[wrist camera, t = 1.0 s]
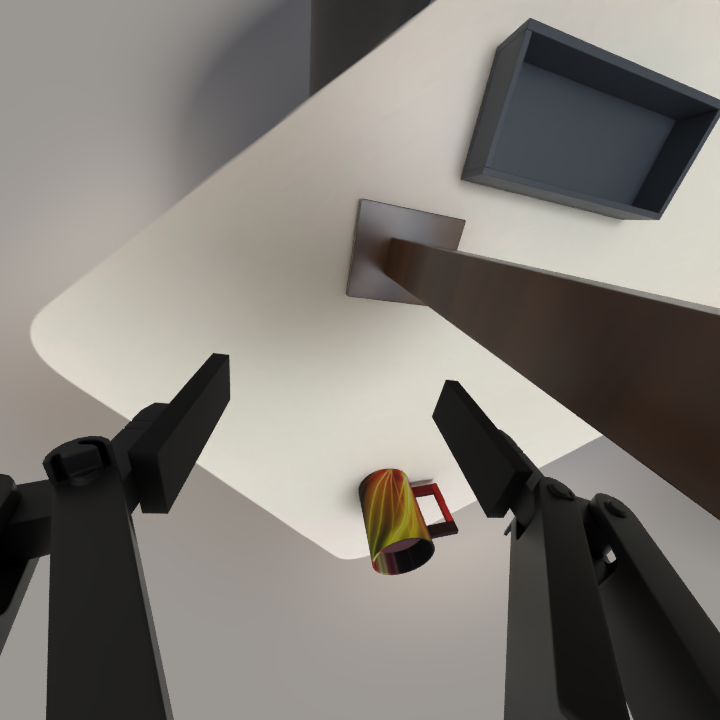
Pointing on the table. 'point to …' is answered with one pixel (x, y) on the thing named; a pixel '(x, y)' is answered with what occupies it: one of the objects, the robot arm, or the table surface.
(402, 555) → the mug
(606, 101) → the charcoal bin
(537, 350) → the shelf stand
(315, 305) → the table surface
